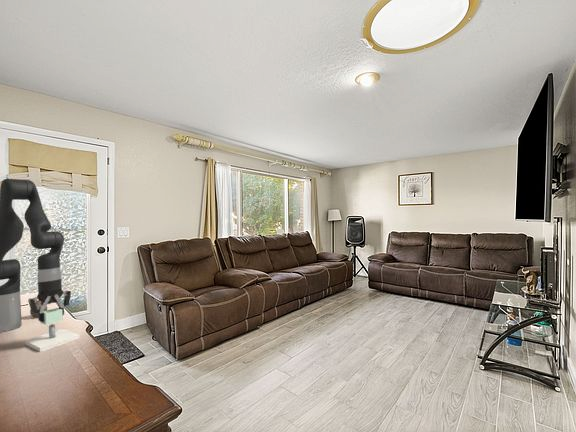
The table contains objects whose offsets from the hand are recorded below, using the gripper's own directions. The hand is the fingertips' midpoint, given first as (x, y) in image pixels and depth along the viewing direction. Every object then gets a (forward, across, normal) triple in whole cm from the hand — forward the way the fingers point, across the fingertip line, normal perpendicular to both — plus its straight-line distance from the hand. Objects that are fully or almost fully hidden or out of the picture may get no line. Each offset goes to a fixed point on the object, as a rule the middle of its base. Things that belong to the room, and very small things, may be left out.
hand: (51, 319), depth 116 cm
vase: (+9, -10, -49) cm, 51 cm away
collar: (+1, 0, 0) cm, 1 cm away
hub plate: (+9, 0, 0) cm, 9 cm away
